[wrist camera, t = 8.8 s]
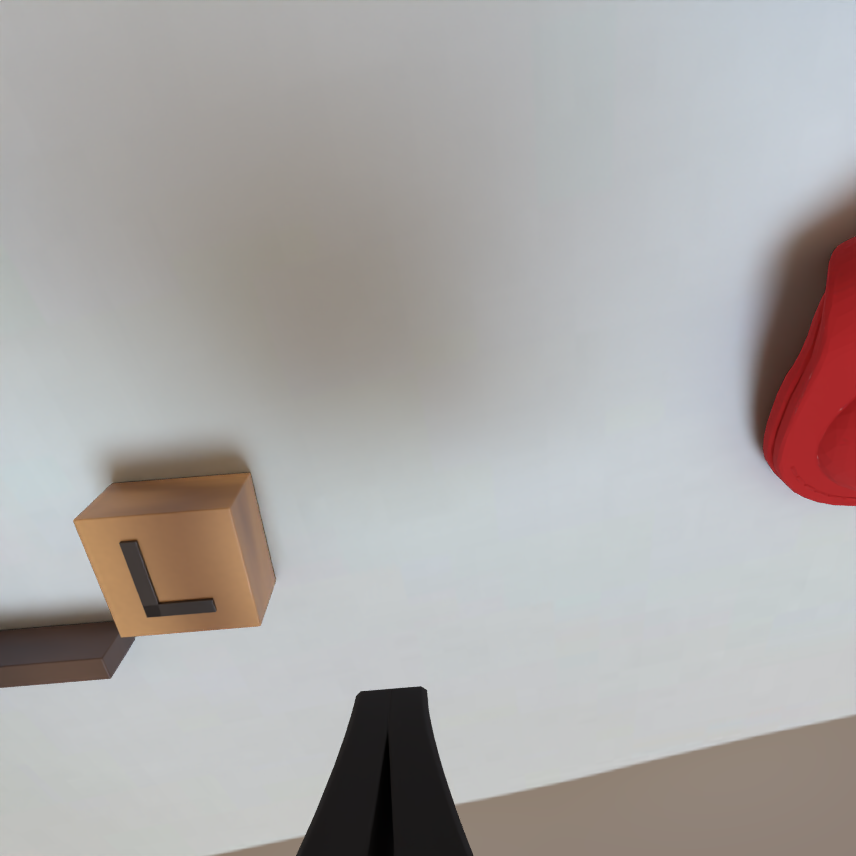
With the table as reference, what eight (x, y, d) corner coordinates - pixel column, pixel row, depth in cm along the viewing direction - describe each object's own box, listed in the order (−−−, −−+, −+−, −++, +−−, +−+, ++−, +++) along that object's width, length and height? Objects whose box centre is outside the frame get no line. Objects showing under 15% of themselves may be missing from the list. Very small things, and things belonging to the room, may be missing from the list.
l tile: (150, 591, 19) (119, 640, 17) (111, 482, 17) (69, 522, 15) (276, 581, 19) (260, 629, 17) (250, 471, 17) (228, 509, 15)
